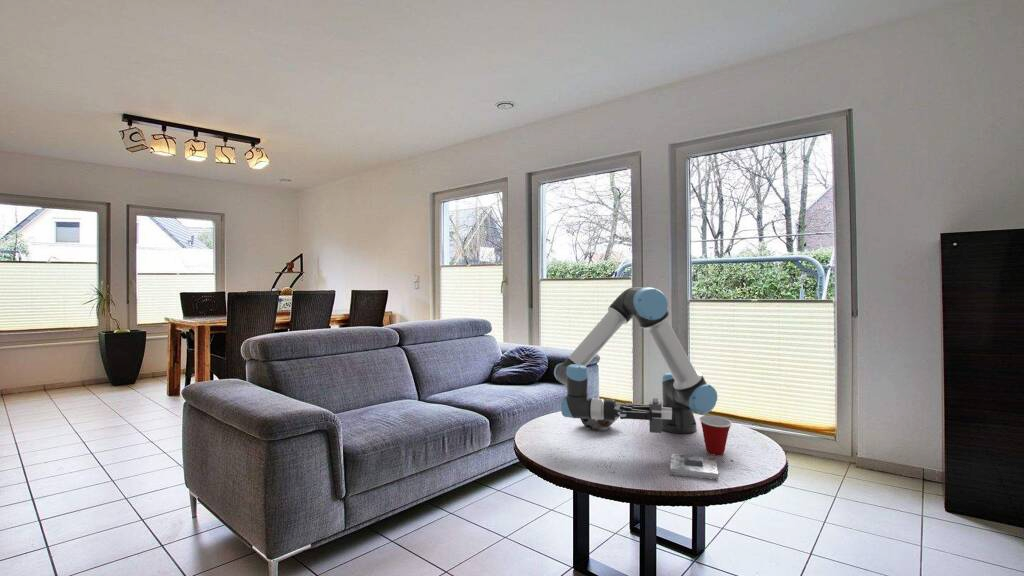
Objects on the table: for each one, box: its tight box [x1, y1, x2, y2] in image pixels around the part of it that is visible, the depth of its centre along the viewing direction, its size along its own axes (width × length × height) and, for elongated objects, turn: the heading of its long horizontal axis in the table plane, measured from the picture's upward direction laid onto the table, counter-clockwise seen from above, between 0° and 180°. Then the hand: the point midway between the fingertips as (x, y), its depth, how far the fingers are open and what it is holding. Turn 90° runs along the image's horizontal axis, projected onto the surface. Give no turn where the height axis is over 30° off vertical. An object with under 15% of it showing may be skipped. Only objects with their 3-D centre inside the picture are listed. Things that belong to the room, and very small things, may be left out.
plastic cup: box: [699, 415, 733, 456], centre depth 180 cm, size 11×11×12 cm
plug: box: [648, 397, 663, 434], centre depth 177 cm, size 4×4×12 cm
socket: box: [670, 452, 719, 480], centre depth 165 cm, size 14×14×3 cm
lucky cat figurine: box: [579, 416, 620, 432], centre depth 210 cm, size 15×12×14 cm
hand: (671, 413), depth 176 cm, fingers closed on plug, 4 cm apart
